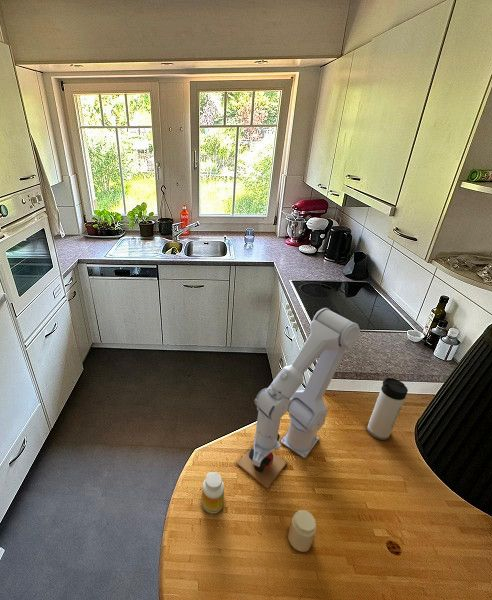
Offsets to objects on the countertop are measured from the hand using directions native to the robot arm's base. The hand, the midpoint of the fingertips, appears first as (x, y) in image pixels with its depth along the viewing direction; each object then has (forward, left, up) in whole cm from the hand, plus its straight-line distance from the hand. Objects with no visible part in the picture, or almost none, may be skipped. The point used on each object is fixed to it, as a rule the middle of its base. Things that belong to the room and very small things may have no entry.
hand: (262, 461), depth 92 cm
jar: (+10, +17, -1) cm, 20 cm away
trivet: (0, 0, -1) cm, 1 cm away
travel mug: (-35, +20, -1) cm, 40 cm away
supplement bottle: (+18, -3, -1) cm, 18 cm away
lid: (0, 0, +2) cm, 2 cm away
